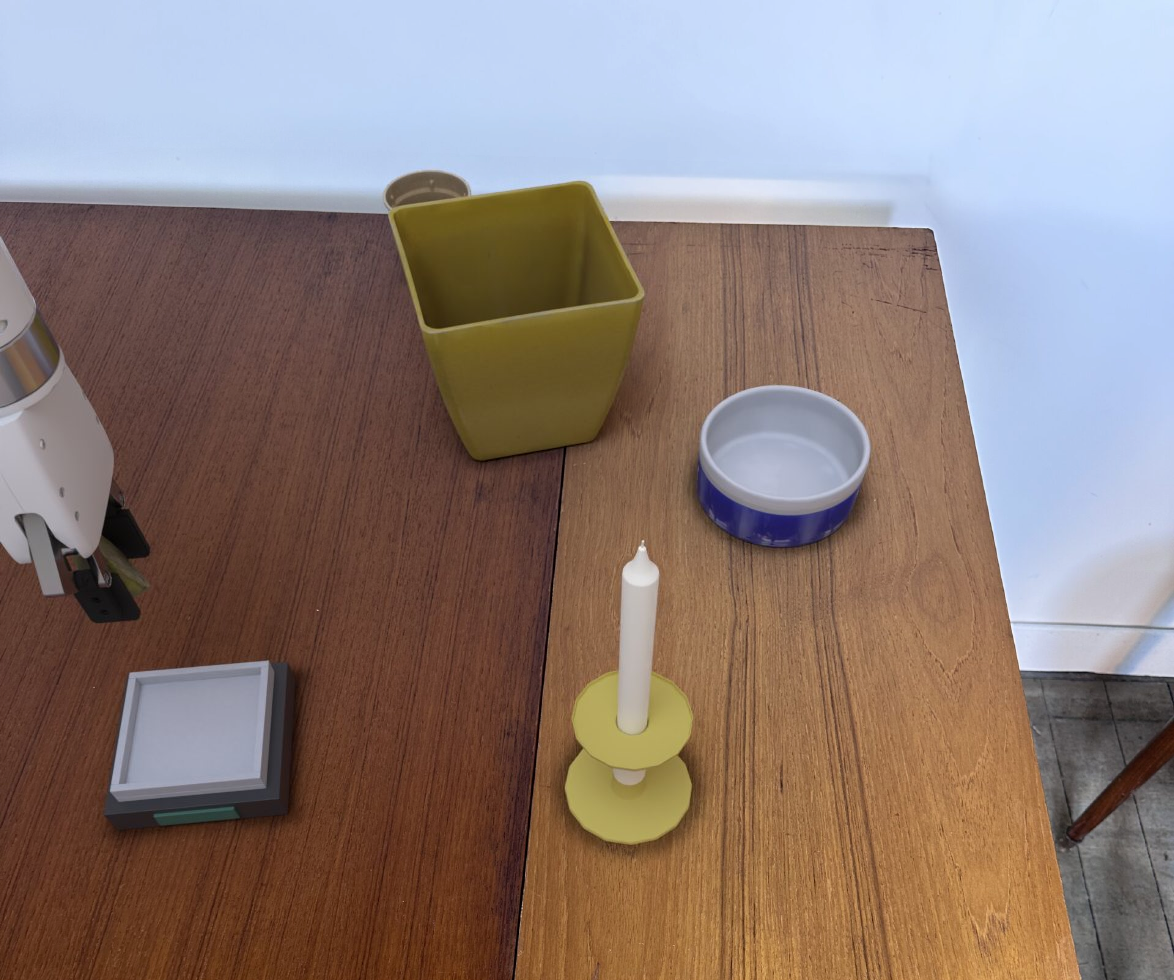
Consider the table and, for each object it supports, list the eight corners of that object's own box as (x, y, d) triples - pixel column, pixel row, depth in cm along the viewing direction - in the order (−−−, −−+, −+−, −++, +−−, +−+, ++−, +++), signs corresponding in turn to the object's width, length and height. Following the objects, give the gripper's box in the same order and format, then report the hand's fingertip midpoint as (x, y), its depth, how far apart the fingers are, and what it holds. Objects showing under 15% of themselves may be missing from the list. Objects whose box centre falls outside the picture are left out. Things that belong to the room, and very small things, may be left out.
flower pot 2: (589, 338, 104) (589, 175, 90) (640, 456, 95) (648, 295, 81) (415, 369, 102) (385, 206, 88) (449, 493, 93) (422, 334, 78)
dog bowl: (862, 553, 88) (878, 503, 83) (693, 546, 89) (699, 496, 84) (849, 439, 96) (864, 386, 91) (695, 433, 97) (700, 381, 92)
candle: (592, 719, 79) (590, 458, 56) (708, 756, 78) (757, 502, 54) (544, 820, 75) (522, 580, 52) (667, 862, 73) (701, 633, 50)
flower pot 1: (493, 258, 112) (486, 180, 104) (454, 304, 108) (444, 226, 100) (422, 239, 114) (410, 161, 107) (381, 283, 110) (365, 205, 102)
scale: (116, 833, 74) (93, 807, 71) (139, 693, 81) (118, 663, 78) (287, 817, 75) (272, 791, 72) (295, 679, 82) (282, 649, 78)
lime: (112, 559, 68) (80, 506, 64) (173, 575, 68) (144, 523, 63) (77, 606, 66) (41, 554, 62) (139, 623, 66) (107, 572, 61)
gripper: (-59, 262, 55) (86, 503, 71) (-137, 470, 47) (47, 691, 62) (76, 253, 56) (190, 494, 71) (22, 457, 47) (165, 680, 63)
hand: (122, 584), depth 67 cm, fingers closed on lime, 5 cm apart
